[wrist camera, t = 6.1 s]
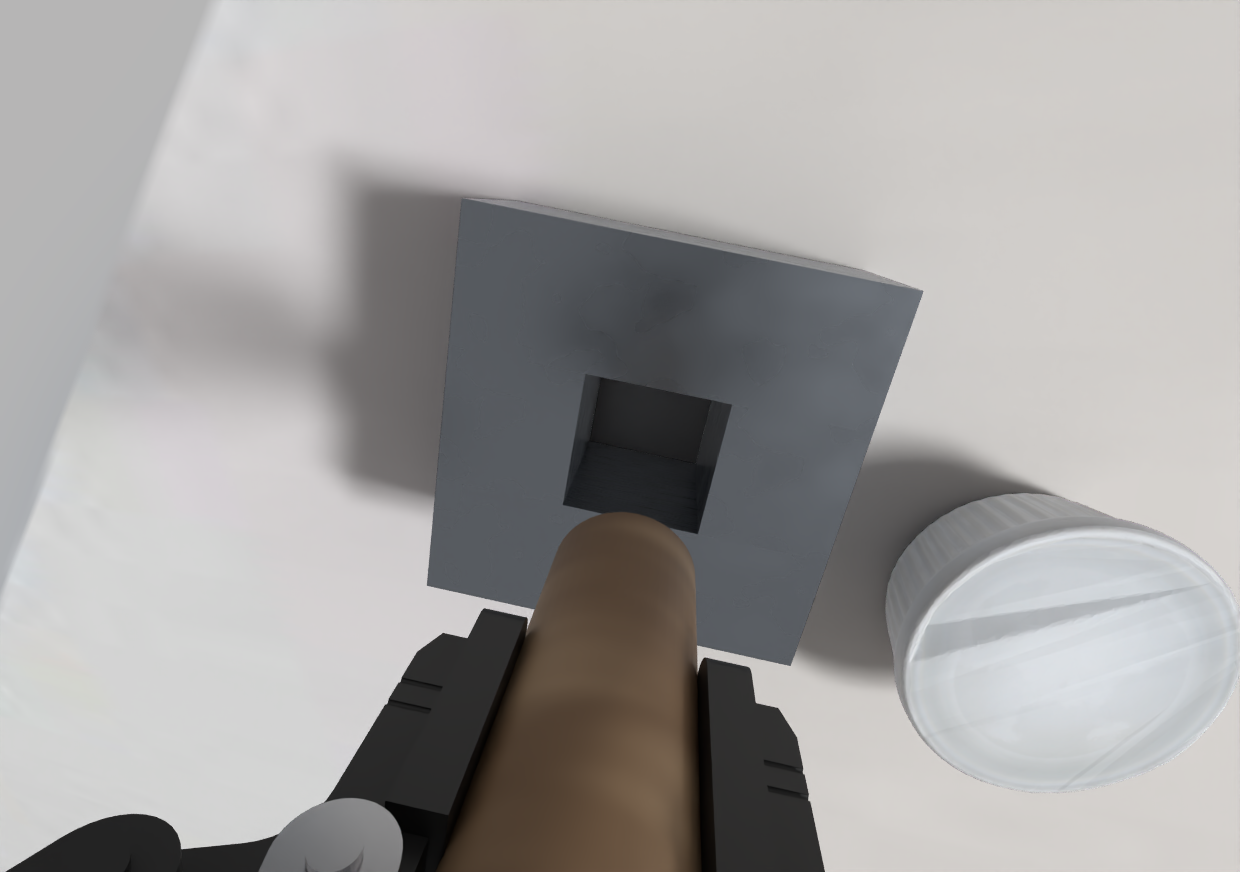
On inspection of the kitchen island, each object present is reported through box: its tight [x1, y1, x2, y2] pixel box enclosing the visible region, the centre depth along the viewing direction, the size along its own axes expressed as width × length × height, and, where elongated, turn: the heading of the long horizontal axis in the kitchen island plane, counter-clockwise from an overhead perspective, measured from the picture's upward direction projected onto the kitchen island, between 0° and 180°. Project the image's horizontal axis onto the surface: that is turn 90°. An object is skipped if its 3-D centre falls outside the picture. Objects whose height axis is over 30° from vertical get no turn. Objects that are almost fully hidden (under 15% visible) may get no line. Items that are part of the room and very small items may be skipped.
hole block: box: [427, 198, 923, 666], centre depth 22 cm, size 13×13×6 cm
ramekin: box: [885, 493, 1240, 793], centre depth 24 cm, size 11×11×5 cm
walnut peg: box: [436, 512, 702, 872], centre depth 9 cm, size 3×3×10 cm
